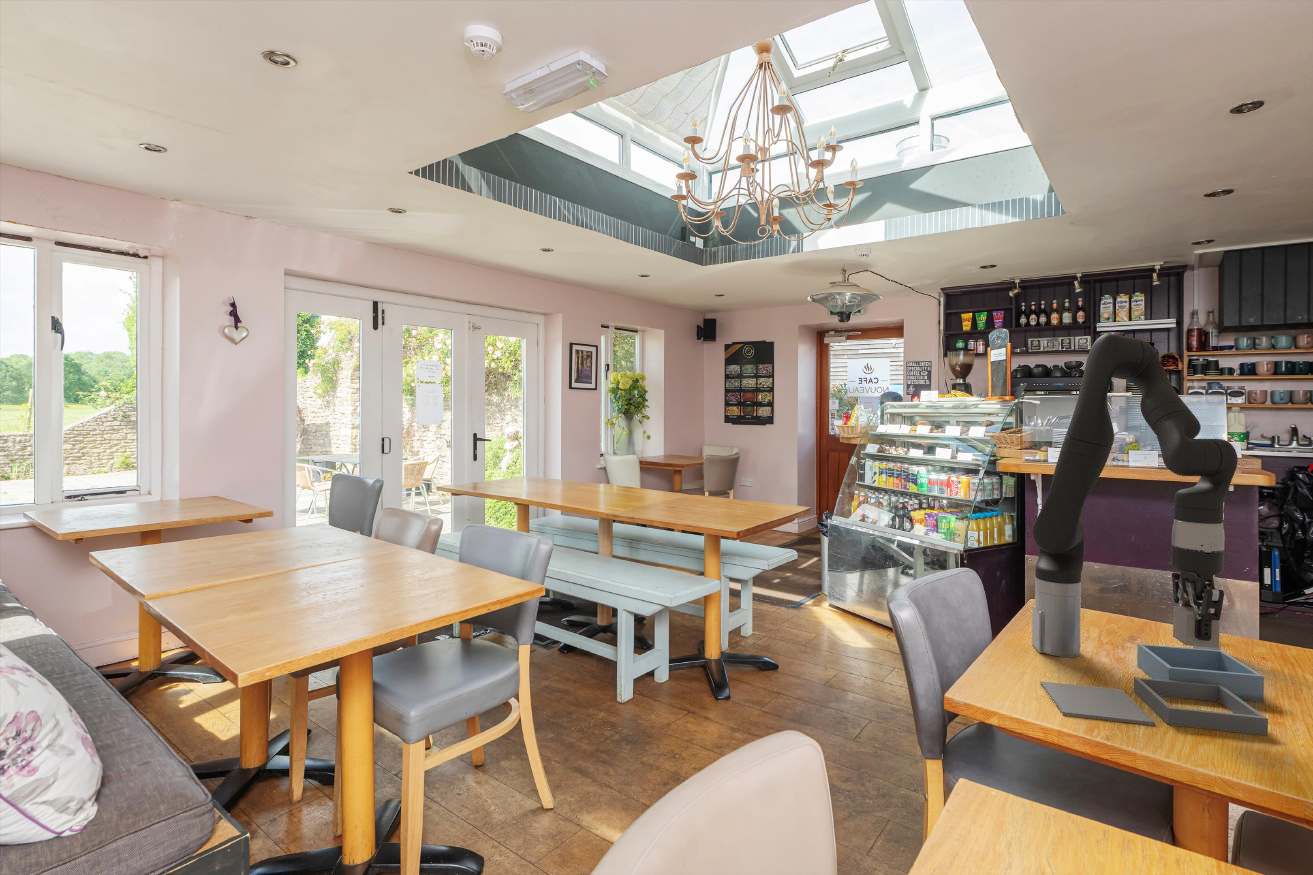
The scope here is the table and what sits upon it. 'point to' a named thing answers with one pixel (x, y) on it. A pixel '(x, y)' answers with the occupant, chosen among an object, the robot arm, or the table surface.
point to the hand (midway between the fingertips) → (1195, 634)
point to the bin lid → (1096, 703)
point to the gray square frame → (1238, 721)
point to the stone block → (1192, 628)
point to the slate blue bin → (1201, 669)
